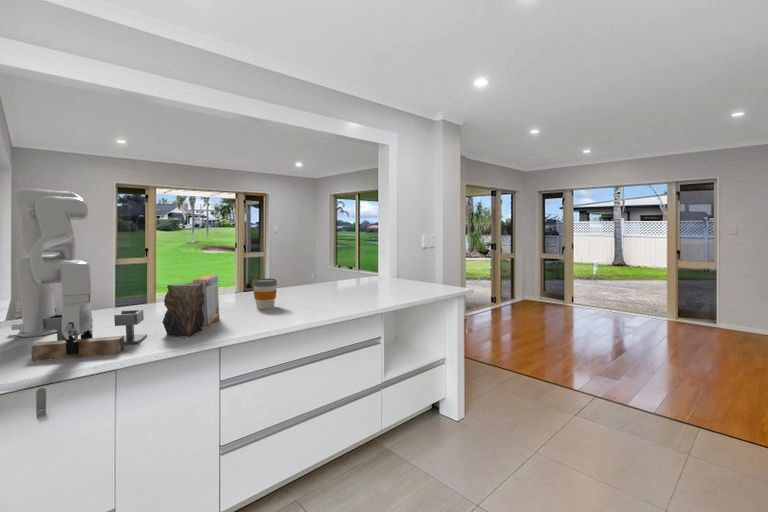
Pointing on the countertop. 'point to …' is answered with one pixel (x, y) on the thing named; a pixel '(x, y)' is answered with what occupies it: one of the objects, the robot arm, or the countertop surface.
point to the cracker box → (209, 298)
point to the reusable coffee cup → (265, 293)
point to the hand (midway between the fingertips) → (80, 349)
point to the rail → (85, 348)
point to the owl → (184, 309)
